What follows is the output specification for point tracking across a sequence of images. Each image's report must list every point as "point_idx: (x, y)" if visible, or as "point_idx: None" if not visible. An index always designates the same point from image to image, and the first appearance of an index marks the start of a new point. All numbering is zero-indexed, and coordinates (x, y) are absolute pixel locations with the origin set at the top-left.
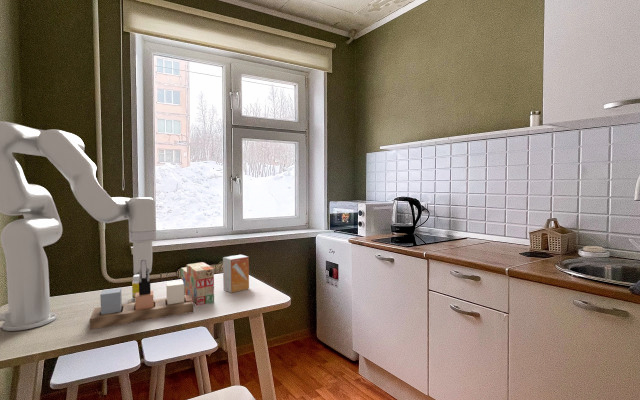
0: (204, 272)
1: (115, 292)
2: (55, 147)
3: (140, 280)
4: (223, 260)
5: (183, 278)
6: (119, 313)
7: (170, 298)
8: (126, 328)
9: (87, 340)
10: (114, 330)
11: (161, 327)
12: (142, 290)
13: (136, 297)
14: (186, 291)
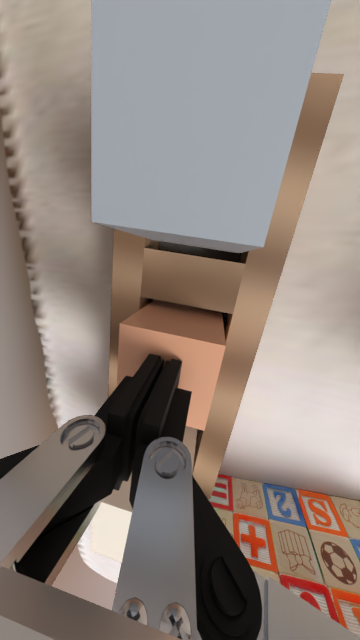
0: None
1: (100, 176)
2: None
3: (50, 444)
4: None
5: None
6: (130, 233)
7: None
8: (84, 255)
9: (29, 112)
10: (84, 215)
11: (47, 344)
12: (120, 383)
13: (120, 329)
14: (320, 511)
